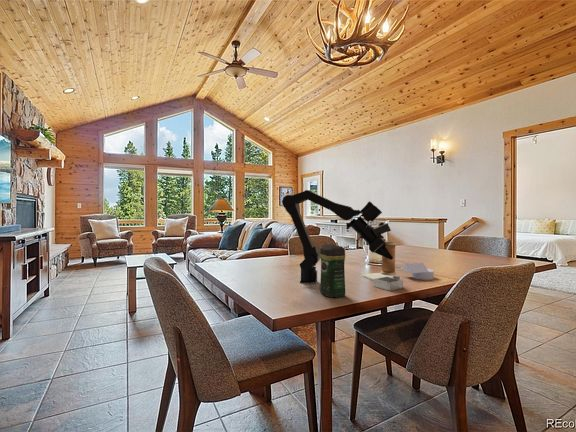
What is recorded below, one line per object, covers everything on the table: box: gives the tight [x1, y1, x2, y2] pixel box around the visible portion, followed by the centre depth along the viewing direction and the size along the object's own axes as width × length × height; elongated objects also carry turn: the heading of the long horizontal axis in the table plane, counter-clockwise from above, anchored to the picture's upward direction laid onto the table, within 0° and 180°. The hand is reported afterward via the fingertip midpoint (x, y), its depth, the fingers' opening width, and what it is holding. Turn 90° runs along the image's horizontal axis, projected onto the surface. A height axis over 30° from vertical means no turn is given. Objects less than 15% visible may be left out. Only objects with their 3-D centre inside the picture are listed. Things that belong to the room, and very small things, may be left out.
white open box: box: [373, 275, 404, 292], centre depth 121 cm, size 10×8×4 cm
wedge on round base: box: [400, 262, 435, 281], centre depth 137 cm, size 9×7×13 cm
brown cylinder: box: [380, 240, 397, 277], centre depth 120 cm, size 6×6×13 cm
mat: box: [360, 272, 393, 282], centre depth 137 cm, size 11×11×1 cm
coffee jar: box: [319, 243, 346, 298], centre depth 111 cm, size 10×8×19 cm
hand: (392, 257), depth 120 cm, fingers closed on brown cylinder, 5 cm apart
